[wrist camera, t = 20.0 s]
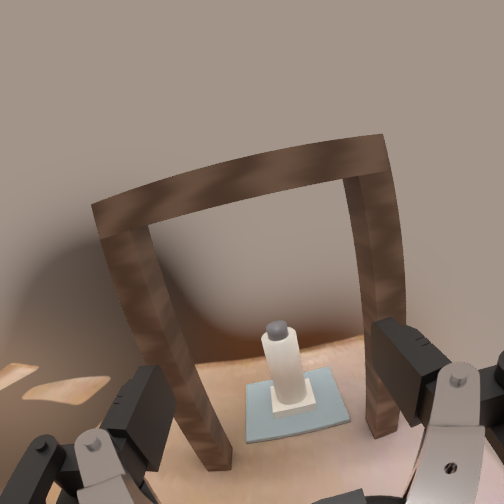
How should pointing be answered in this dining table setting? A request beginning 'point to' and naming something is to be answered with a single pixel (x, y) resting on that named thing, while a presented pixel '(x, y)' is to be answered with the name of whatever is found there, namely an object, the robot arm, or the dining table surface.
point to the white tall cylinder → (286, 372)
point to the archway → (231, 190)
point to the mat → (269, 428)
